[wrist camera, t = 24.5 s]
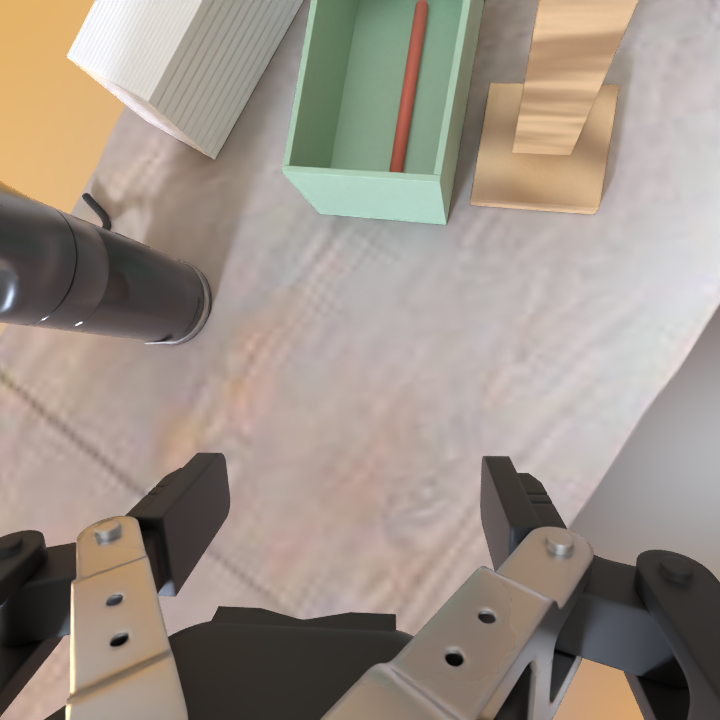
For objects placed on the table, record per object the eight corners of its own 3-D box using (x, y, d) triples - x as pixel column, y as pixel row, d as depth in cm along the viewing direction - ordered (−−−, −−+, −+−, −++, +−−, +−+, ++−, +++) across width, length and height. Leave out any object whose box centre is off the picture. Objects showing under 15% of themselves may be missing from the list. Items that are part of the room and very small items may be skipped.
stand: (593, 220, 41) (1040, -371, 9) (469, 210, 43) (464, -270, 11) (615, 89, 41) (1135, -966, 9) (490, 87, 43) (543, -728, 12)
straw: (385, 205, 45) (398, 206, 44) (383, 200, 43) (396, 201, 43) (416, 6, 45) (429, 6, 45) (415, -4, 44) (428, -5, 43)
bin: (446, 225, 44) (439, 182, 34) (318, 213, 47) (281, 172, 38) (486, -10, 44) (490, -116, 35) (356, -6, 47) (328, -101, 38)
